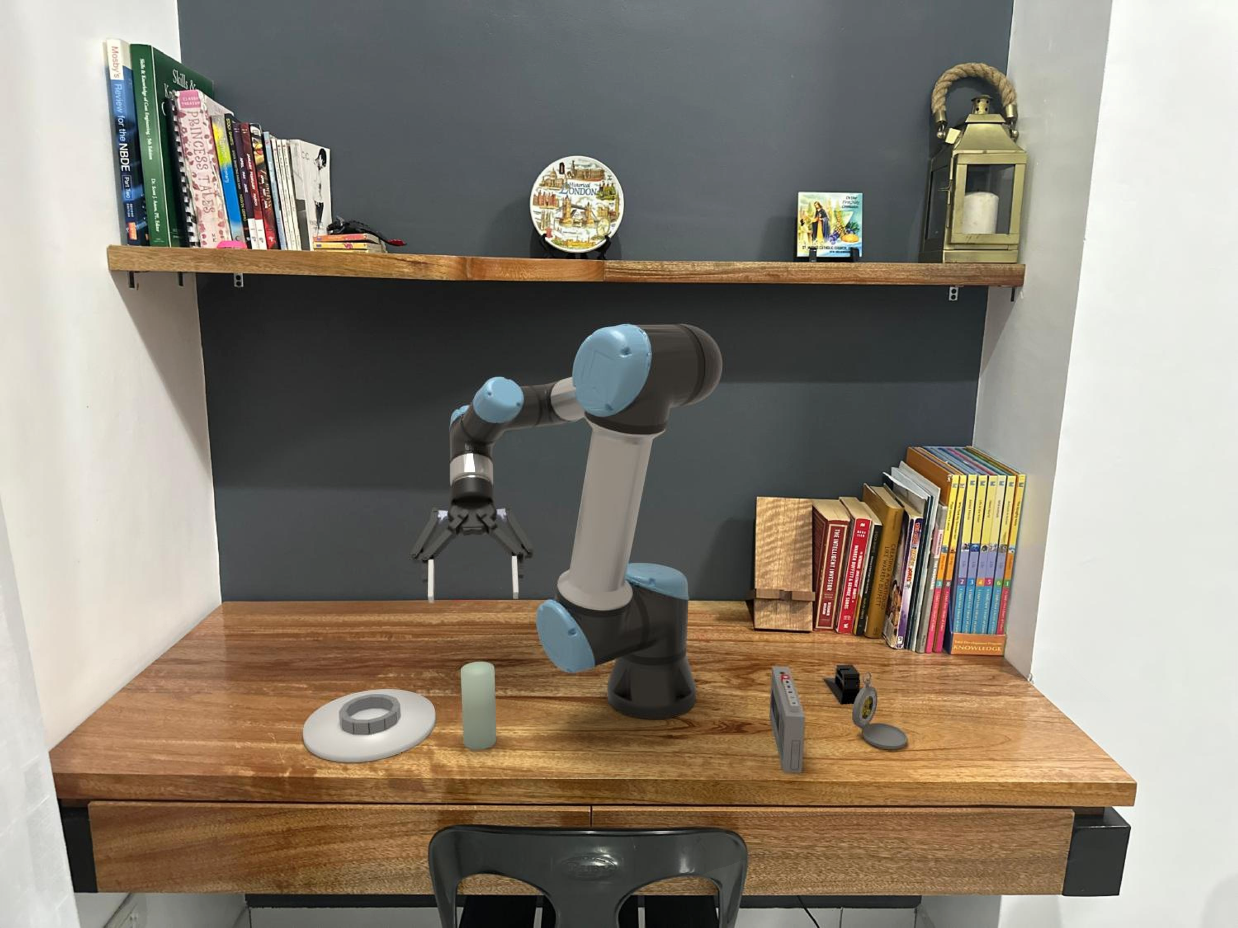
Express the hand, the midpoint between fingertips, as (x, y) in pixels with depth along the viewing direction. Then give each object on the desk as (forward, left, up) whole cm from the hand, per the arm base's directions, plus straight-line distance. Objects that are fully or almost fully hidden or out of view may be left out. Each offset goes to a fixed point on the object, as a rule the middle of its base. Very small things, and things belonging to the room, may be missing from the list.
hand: (473, 597), depth 130 cm
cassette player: (-49, +11, -19) cm, 54 cm away
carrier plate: (+16, +7, -19) cm, 26 cm away
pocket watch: (-64, +9, -19) cm, 68 cm away
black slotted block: (-64, -6, -20) cm, 67 cm away
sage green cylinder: (-2, +11, -19) cm, 22 cm away
